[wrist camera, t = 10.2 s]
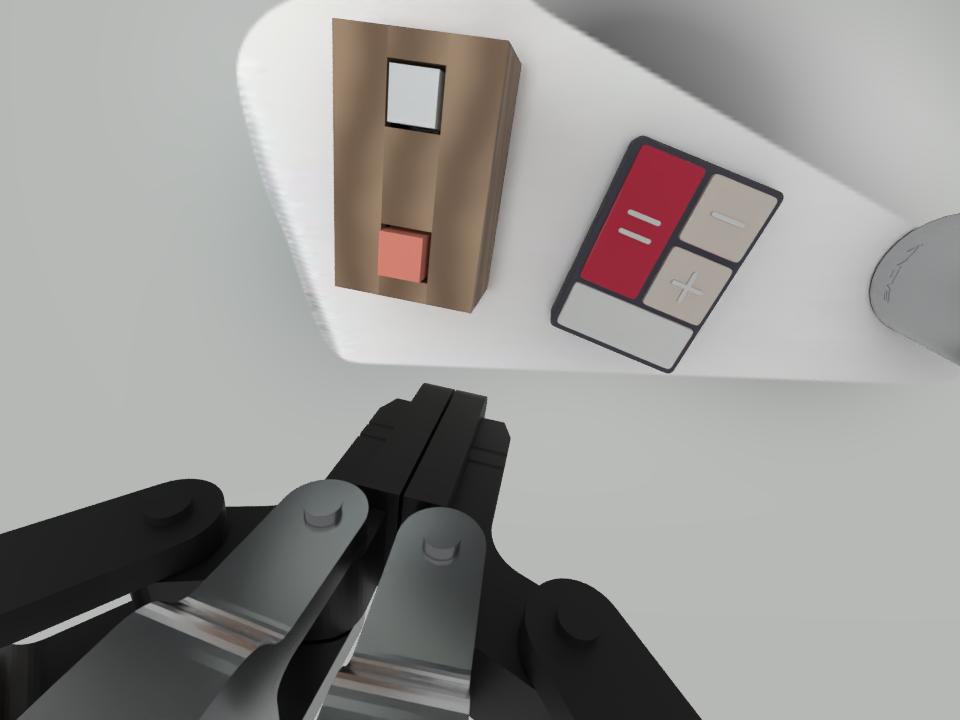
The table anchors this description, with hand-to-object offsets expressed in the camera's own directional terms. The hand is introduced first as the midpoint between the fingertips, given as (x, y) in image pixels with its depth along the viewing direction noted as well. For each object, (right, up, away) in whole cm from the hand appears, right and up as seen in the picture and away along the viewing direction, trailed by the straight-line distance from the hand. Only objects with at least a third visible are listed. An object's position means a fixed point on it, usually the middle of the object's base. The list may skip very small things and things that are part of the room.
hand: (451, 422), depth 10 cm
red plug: (-4, +12, +27) cm, 29 cm away
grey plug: (-2, +21, +23) cm, 31 cm away
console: (-3, +17, +25) cm, 31 cm away
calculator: (+15, +10, +26) cm, 31 cm away
